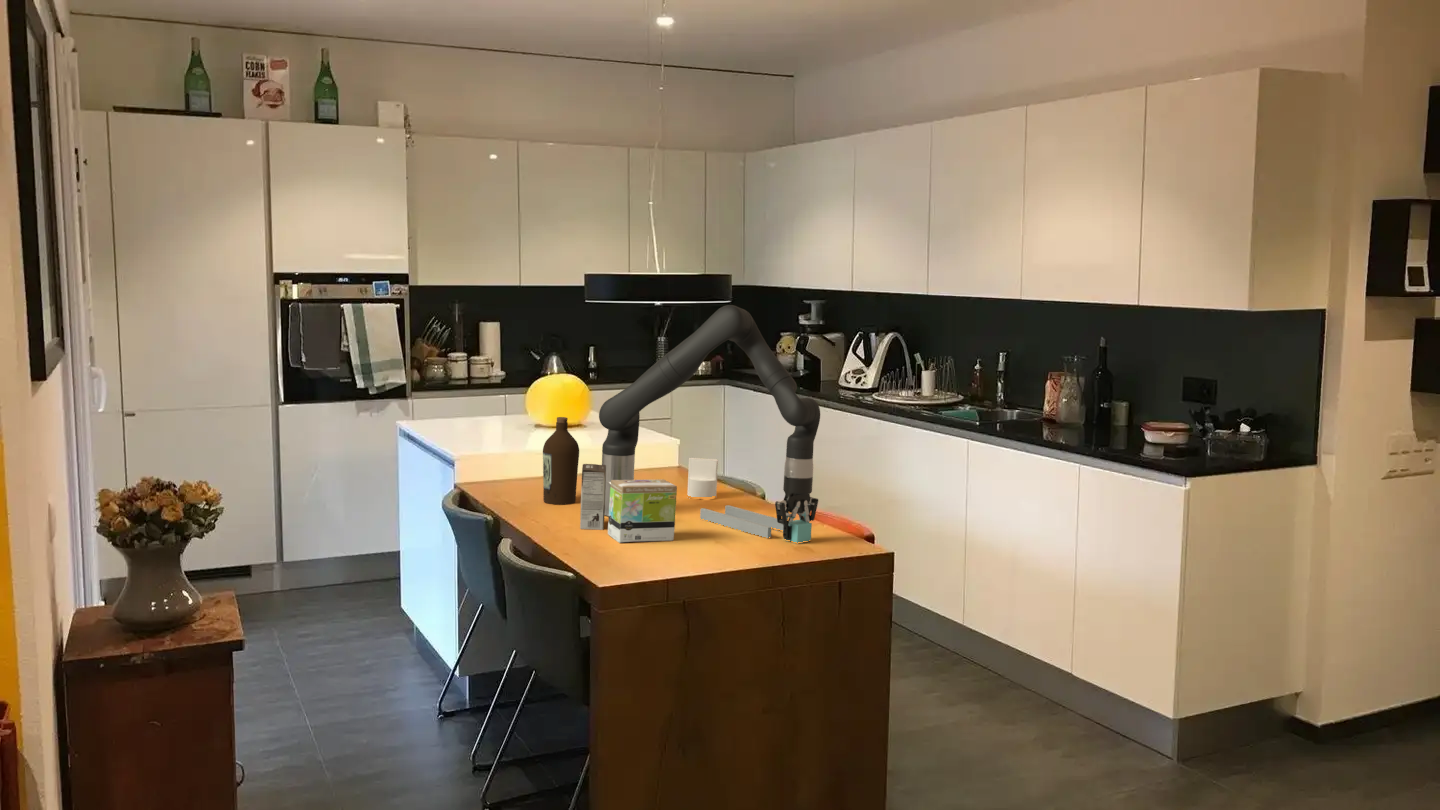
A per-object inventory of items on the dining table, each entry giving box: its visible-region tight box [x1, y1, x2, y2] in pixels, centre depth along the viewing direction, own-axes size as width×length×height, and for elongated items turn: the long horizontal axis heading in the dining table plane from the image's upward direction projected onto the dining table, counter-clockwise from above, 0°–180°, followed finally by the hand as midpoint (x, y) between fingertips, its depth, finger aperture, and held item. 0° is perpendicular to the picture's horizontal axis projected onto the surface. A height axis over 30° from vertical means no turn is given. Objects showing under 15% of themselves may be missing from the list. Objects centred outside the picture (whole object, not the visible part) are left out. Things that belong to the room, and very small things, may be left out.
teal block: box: [790, 519, 813, 543], centre depth 301 cm, size 5×5×5 cm
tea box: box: [607, 478, 678, 544], centre depth 295 cm, size 15×10×15 cm, turn 114°
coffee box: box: [579, 463, 606, 531], centre depth 307 cm, size 9×6×16 cm
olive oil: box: [542, 416, 580, 506], centre depth 337 cm, size 11×11×25 cm
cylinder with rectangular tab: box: [686, 457, 719, 497], centre depth 355 cm, size 9×9×12 cm
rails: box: [699, 504, 783, 539], centre depth 316 cm, size 10×28×3 cm, turn 40°
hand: (795, 538), depth 301 cm, fingers closed on teal block, 5 cm apart
